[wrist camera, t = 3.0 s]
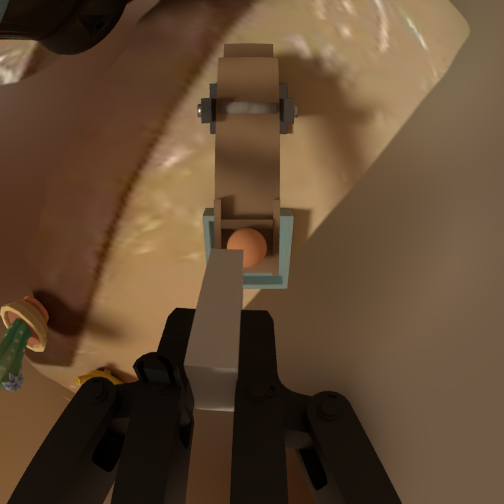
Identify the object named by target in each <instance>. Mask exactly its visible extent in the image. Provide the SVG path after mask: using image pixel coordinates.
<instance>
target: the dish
mask: <svg viewBox="0 0 504 504" xmlns="http://www.w3.org/2000/svg"><path fill="white" fill-rule="evenodd" d="M293 219H294V216H293V213H292V210H291V209H280V245H279V276H272V273H243V289H268V288H270V289H274V288H276V289H277V288H287V285H288V275H289V265H290V254H291V243H292V232H293ZM203 228H204V240H205V251H206V262H207V263H208V259H209V255H210V251H211V249H215V240H214V208H205V211H204V214H203Z"/></svg>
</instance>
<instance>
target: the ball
mask: <svg viewBox="0 0 504 504" xmlns="http://www.w3.org/2000/svg"><path fill="white" fill-rule="evenodd" d="M227 249H240V250H244V254H243V268H251V267H254V266H256V265H258V264H259V263H261V262H262V260H263V259H264V257H265V255H266V252H267V245H266V241H265V239H264V237H263V236H262V235H261V233H259V232H258V231H256V230H254V229H251V228H243V229H240V230H238V231H236V232H234V233H233V234H232V235H231V237H230V238H229V240H228V244H227Z"/></svg>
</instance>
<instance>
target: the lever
mask: <svg viewBox="0 0 504 504" xmlns="http://www.w3.org/2000/svg"><path fill="white" fill-rule="evenodd" d="M243 228H251V229H254V230H256V231H258V232H259V233H261V235H262V236H263V237H264V239H265V241H266V245H267V252H266V255H265V257H264V259H263V260H262V262H261V263H259V264H258V265H256V266H254V267H251V268H243V273H272V276H279V245H280V121H279V71H278V58H273V44H224V58H219V60H218V80H217V105H216V141H215V200H214V240H215V249H227V244H228V240H229V238H230V237H231V235H232V234H233V233H234V232H236V231H238V230H240V229H243Z"/></svg>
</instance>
